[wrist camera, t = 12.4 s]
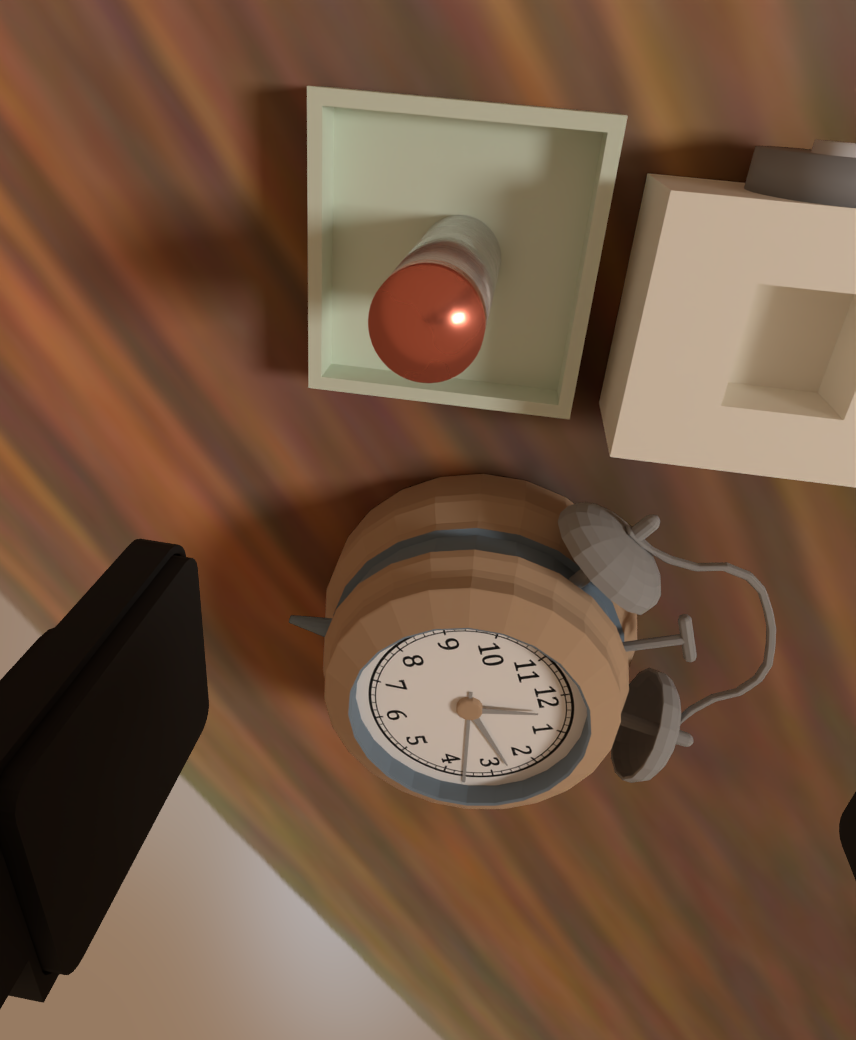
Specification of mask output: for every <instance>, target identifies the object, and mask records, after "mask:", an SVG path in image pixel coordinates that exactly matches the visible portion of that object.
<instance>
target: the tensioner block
mask: <svg viewBox="0 0 856 1040" xmlns="http://www.w3.org/2000/svg"><path fill="white" fill-rule="evenodd" d="M599 406H600V411H601V416H602V420H603V425H604V430H605V435H606V440H607V445H608V450H609V454H610V457H615V458H623V459H631V460H639V461H647V462H655V463H664V464H672V465H680V466H688V467H696V468H704V469H712V470H720V471H728V472H736V473H744V474H752V475H760V476H768V477H776V478H784V479H792V480H800V481H808V482H816V483H824V484H833V485H841V486H849V487H856V143H849V142H839V141H828V140H815V141H814V144H813V147H812V150H811V149H800V148H788V147H773V146H755V150H754V153H753V157H752V161H751V164H750V168H749V172H748V175H747V179H746V183H742V182H732V181H722V180H712V179H701V178H691V177H681V176H671V175H660V174H650V173H647V178H646V182H645V187H644V192H643V197H642V201H641V206H640V211H639V216H638V220H637V225H636V230H635V235H634V239H633V244H632V249H631V253H630V258H629V263H628V268H627V272H626V277H625V282H624V287H623V291H622V296H621V301H620V306H619V310H618V315H617V320H616V325H615V329H614V334H613V339H612V344H611V348H610V353H609V358H608V363H607V367H606V372H605V377H604V382H603V386H602V391H601V396H600V400H599Z"/></svg>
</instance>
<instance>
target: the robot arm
mask: <svg viewBox="0 0 856 1040" xmlns="http://www.w3.org/2000/svg"><path fill="white" fill-rule="evenodd" d="M208 709H209V699H208V687H207V675H206V663H205V651H204V639H203V627H202V615H201V602H200V590H199V578H198V568H197V563H196V561H195V559H193V558H188V557H186V554H185V551H184V549H183V547H182V546H180V545H176V544H170V543H164V542H157V541H151V540H145V539H136V540H134V541H133V542H132V543H131V544H130V545H129V546H128V547H127V548H126V549H125V550H124V551H123V553H122V554H121V555H120V556H119V557H118V558H117V559H116V560H115V561H114V563H113V564H112V565H111V566H110V567H109V568H108V569H107V570H106V571H105V573H104V574H103V575H102V576H101V577H100V578H99V579H98V580H97V581H96V583H95V584H94V585H93V586H92V587H91V588H90V589H89V590H88V591H87V593H86V594H85V595H84V596H83V597H82V598H81V599H80V600H79V601H78V603H77V604H76V605H75V606H74V607H73V608H72V609H71V610H70V611H69V613H68V614H67V615H66V616H65V617H64V618H63V619H62V620H61V621H60V623H59V624H58V625H57V626H56V627H55V628H52V629H49V630H48V631H47V632H45V633H44V634H43V635H42V636H41V637H39V638H38V640H37V641H36V642H35V643H34V644H33V645H32V646H31V647H30V648H29V650H28V651H27V652H26V653H25V654H24V655H23V656H22V657H21V658H20V659H19V661H17V663H16V664H15V665H14V666H13V667H12V668H11V669H10V670H9V671H8V672H7V674H6V675H5V676H4V677H3V678H2V679H1V680H0V1008H1V1007H2V1005H3V1004H4V1002H5V1000H6V998H7V997H8V995H9V996H14V997H19V998H24V999H29V1000H34V1001H38V1002H44V1001H45V999H46V997H47V995H48V994H49V992H50V990H51V988H52V986H53V984H54V983H55V981H56V979H57V977H58V975H59V974H63V975H69V974H70V973H72V972H73V971H74V970H75V969H76V967H77V966H78V965H79V963H80V961H81V960H82V958H83V956H84V954H85V953H86V951H87V949H88V947H89V944H90V943H91V941H92V939H93V937H94V935H95V934H96V932H97V930H98V928H99V926H100V924H101V922H102V920H103V918H104V917H105V915H106V913H107V911H108V909H109V907H110V905H111V903H112V901H113V899H114V897H115V896H116V894H117V892H118V890H119V888H120V886H121V884H122V882H123V880H124V879H125V877H126V875H127V873H128V871H129V869H130V867H131V865H132V863H133V861H134V860H135V858H136V856H137V854H138V852H139V850H140V848H141V846H142V844H143V843H144V841H145V839H146V837H147V835H148V833H149V831H150V829H151V827H152V826H153V823H154V822H155V820H156V818H157V816H158V814H159V812H160V810H161V808H162V806H163V805H164V803H165V801H166V799H167V797H168V795H169V793H170V791H171V790H172V788H173V786H174V784H175V782H176V780H177V778H178V776H179V774H180V773H181V771H182V769H183V767H184V765H185V763H186V761H187V759H188V757H189V756H190V754H191V752H192V750H193V748H194V746H195V744H196V742H197V740H198V738H199V737H200V735H201V733H202V731H203V728H204V726H205V723H206V720H207V715H208ZM839 833H840V840H841V843H842V847H843V849H844V852H845V854H846V857H847V859H848V862H849V864H850V867H851V870H852V872H853V875H854V877H855V880H856V792H855V794H854V795H853V797H852V799H851V800H850V802H849V803H848V805H847V807H846V808H845V810H844V812H843V814H842V816H841V819H840V824H839Z"/></svg>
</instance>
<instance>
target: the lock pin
mask: <svg viewBox="0 0 856 1040" xmlns="http://www.w3.org/2000/svg"><path fill="white" fill-rule="evenodd" d="M500 265H501V251H500V246H499V243H498V240H497V238H496V236H495V235H494V233H493V232H492V230H491V229H490V228H489V227H488V226H487V225H486V224H485V223H483V222H482V221H480V220H478V219H476V218H474V217H471V216H467V215H452V216H448V217H446V218H443V219H441V220H439V221H438V222H436V223H435V224H434V225H433V226H432V227H431V228H430V229H429V230H428V231H427V232H426V233H425V235H424V236H423V237H422V238H421V239H420V240H419V242H418V243H417V244H416V245H415V246H414V247H413V249H412V250H411V251H410V252H409V253H408V255H407V256H406V257H405V258H404V259H403V260H402V262H401V263H400V264H399V265H398V266H397V267H396V269H395V270H394V271H393V272H392V273H391V275H390V276H389V277H388V278H387V279H386V280H385V282H384V283H383V284H382V285H381V286H380V288H379V289H378V291H377V292H376V294H375V296H374V298H373V300H372V303H371V305H370V309H369V315H368V330H369V336H370V339H371V343H372V345H373V347H374V350H375V351H376V353H377V355H378V356H379V358H380V359H381V360H382V362H383V363H384V364H385V365H386V366H387V367H388V368H389V369H391V370H392V371H393V372H394V373H396V374H398V375H399V376H401V377H403V378H405V379H408V380H411V381H414V382H419V383H438V382H443V381H446V380H449V379H451V378H453V377H455V376H457V375H459V374H460V373H462V372H463V371H464V370H465V369H466V368H468V367H469V365H470V364H471V363H472V362H473V361H474V359H475V358H476V356H477V355H478V352H479V350H480V348H481V345H482V342H483V338H484V334H485V330H486V326H487V321H488V317H489V313H490V308H491V304H492V300H493V296H494V291H495V287H496V283H497V279H498V274H499V270H500Z"/></svg>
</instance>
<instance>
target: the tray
mask: <svg viewBox="0 0 856 1040" xmlns="http://www.w3.org/2000/svg"><path fill="white" fill-rule="evenodd" d="M627 117H628V116H627V115H623V114H617V113H606V112H595V111H584V110H574V109H563V108H552V107H541V106H530V105H520V104H509V103H498V102H487V101H476V100H466V99H455V98H444V97H433V96H423V95H412V94H401V93H390V92H379V91H369V90H358V89H347V88H336V87H325V86H307V204H308V382H309V388H315V389H323V390H331V391H339V392H348V393H356V394H364V395H372V396H381V397H389V398H397V399H405V400H414V401H422V402H430V403H438V404H447V405H455V406H463V407H471V408H480V409H488V410H496V411H504V412H513V413H521V414H529V415H537V416H545V417H554V418H562V419H570V415H571V409H572V404H573V399H574V394H575V388H576V383H577V378H578V373H579V368H580V362H581V357H582V352H583V347H584V341H585V336H586V331H587V326H588V321H589V315H590V310H591V305H592V300H593V294H594V289H595V284H596V279H597V274H598V268H599V263H600V258H601V253H602V247H603V242H604V237H605V232H606V226H607V221H608V216H609V211H610V206H611V200H612V195H613V190H614V185H615V179H616V174H617V169H618V164H619V159H620V153H621V148H622V143H623V138H624V132H625V127H626V122H627ZM452 215H467V216H471V217H474V218H476V219H478V220H480V221H482V222H483V223H485V224H486V225H487V226H488V227H489V228H490V229H491V230H492V232H493V233H494V235H495V236H496V238H497V240H498V243H499V246H500V251H501V265H500V270H499V274H498V279H497V283H496V287H495V291H494V296H493V300H492V304H491V308H490V313H489V317H488V321H487V326H486V330H485V334H484V338H483V342H482V345H481V348H480V350H479V352H478V355H477V356H476V358H475V359H474V361H473V362H472V363H471V364H470V365H469V367H468V368H466V369H465V370H464V371H463V372H462V373H460V374H459V375H457V376H455V377H453V378H451V379H449V380H446V381H443V382H438V383H419V382H414V381H411V380H408V379H405V378H403V377H401V376H399V375H398V374H396V373H394V372H393V371H392V370H391V369H389V368H388V367H387V366H386V365H385V364H384V363H383V362H382V360H381V359H380V358H379V356H378V355H377V353H376V351H375V350H374V347H373V345H372V343H371V339H370V336H369V330H368V315H369V309H370V305H371V303H372V300H373V298H374V296H375V294H376V292H377V291H378V289H379V288H380V286H381V285H382V284H383V283H384V282H385V280H386V279H387V278H388V277H389V276H390V275H391V273H392V272H393V271H394V270H395V269H396V267H397V266H398V265H399V264H400V263H401V262H402V260H403V259H404V258H405V257H406V256H407V255H408V253H409V252H410V251H411V250H412V249H413V247H414V246H415V245H416V244H417V243H418V242H419V240H420V239H421V238H422V237H423V236H424V235H425V233H426V232H427V231H428V230H429V229H430V228H431V227H432V226H433V225H434V224H435V223H436V222H438V221H439V220H441V219H443V218H446V217H448V216H452Z"/></svg>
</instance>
